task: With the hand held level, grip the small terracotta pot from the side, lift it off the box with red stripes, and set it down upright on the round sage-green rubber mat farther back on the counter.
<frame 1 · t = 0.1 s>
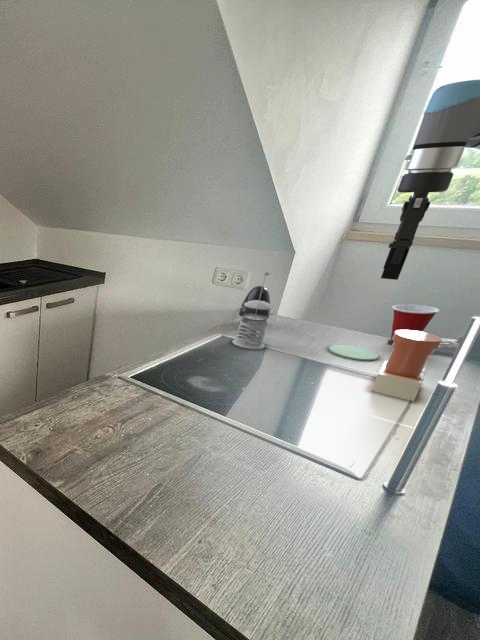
hand: (389, 273, 89), 31 cm above the counter, tool pointing down, fingers open, 13 cm apart
french press: (245, 343, 135), on the counter
terracotta pot: (402, 371, 101), point 5 cm above the counter, touching box with red stripes
plastic cup: (401, 341, 133), on the counter
box with red stripes: (394, 388, 103), on the counter
mat: (352, 352, 125), on the counter
black rounded piece: (251, 324, 152), on the counter
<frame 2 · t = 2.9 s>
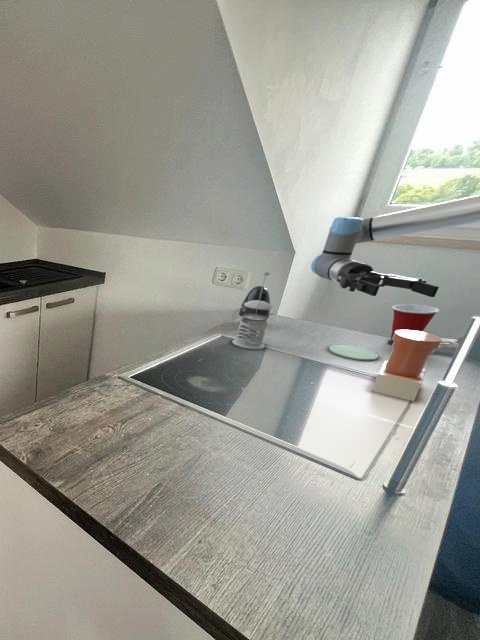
hand: (405, 291, 101), 24 cm above the counter, tool horizontal, fingers open, 13 cm apart
nothing on the counter moved.
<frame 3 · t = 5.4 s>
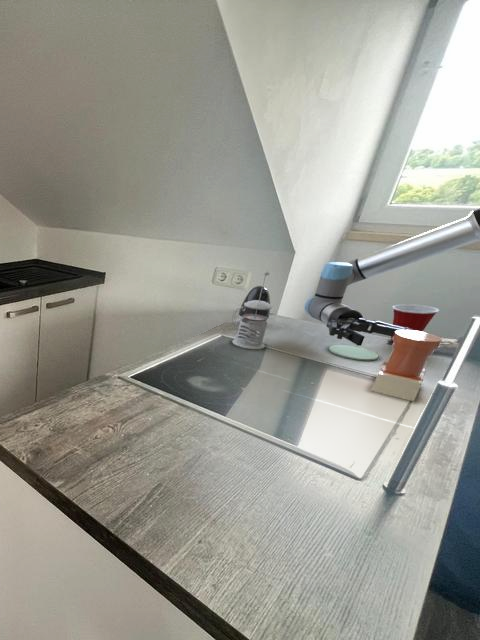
hand: (390, 342, 105), 10 cm above the counter, tool horizontal, fingers open, 13 cm apart
nothing on the counter moved.
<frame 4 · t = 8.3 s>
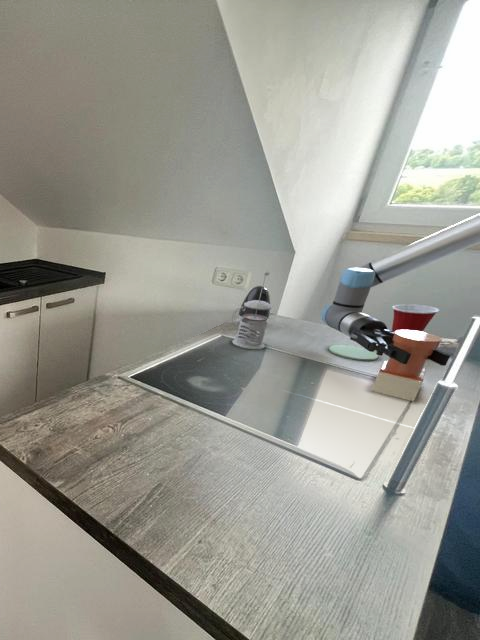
hand: (426, 359, 95), 10 cm above the counter, tool horizontal, fingers closed on terracotta pot, 7 cm apart
terracotta pot: (402, 371, 101), point 5 cm above the counter, touching box with red stripes, gripper
everything else where it was.
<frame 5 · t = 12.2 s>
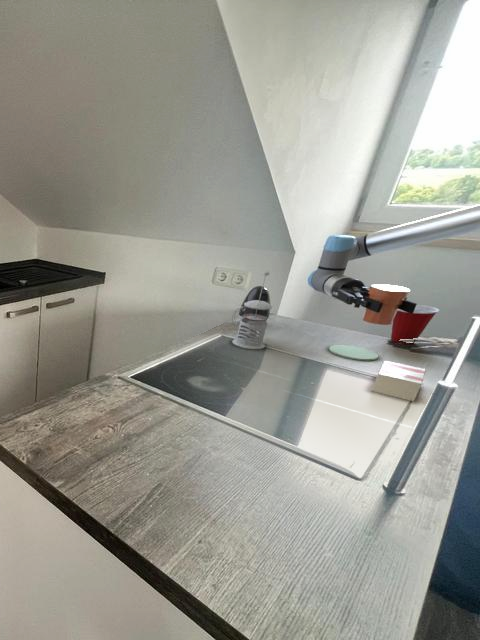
hand: (396, 308, 108), 18 cm above the counter, tool horizontal, fingers closed on terracotta pot, 7 cm apart
terracotta pot: (376, 321, 114), point 13 cm above the counter, touching gripper
everything else where it was.
when the fingers open (6 cm above the counter, at t = 16.6 s): terracotta pot stays where it is, resting on mat.
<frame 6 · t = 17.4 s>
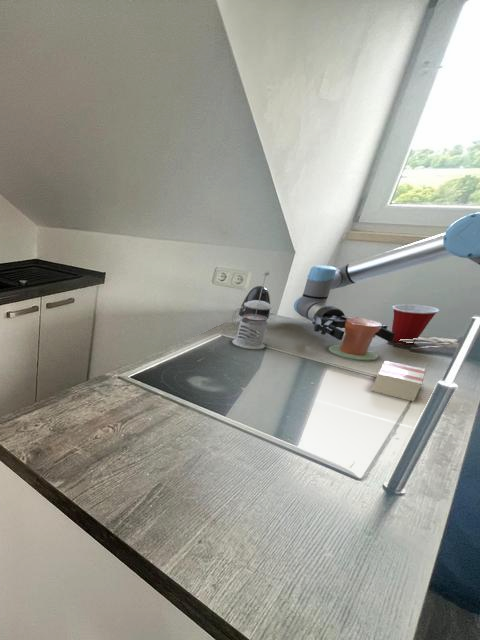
hand: (366, 336, 119), 7 cm above the counter, tool horizontal, fingers open, 13 cm apart
terracotta pot: (352, 351, 125), resting on mat
everything else where it was.
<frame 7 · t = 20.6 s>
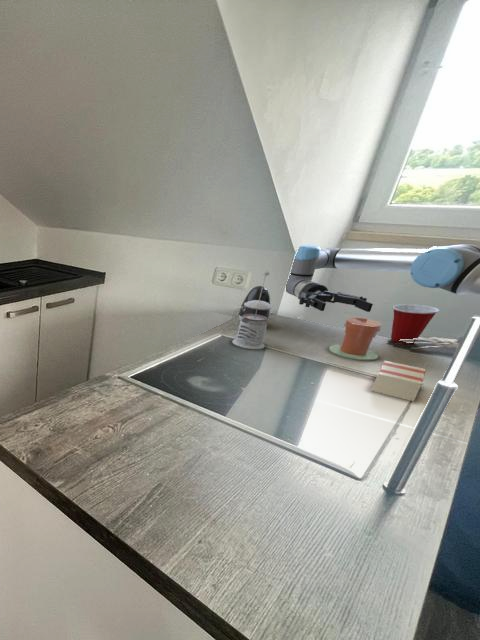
hand: (346, 307, 128), 12 cm above the counter, tool horizontal, fingers open, 13 cm apart
nothing on the counter moved.
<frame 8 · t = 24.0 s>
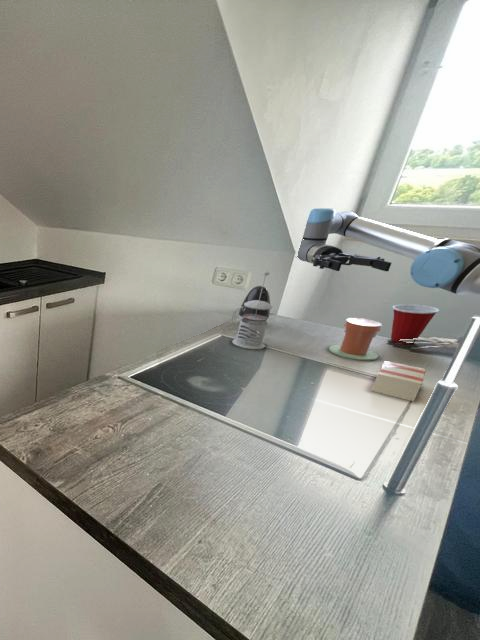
hand: (363, 266, 122), 26 cm above the counter, tool horizontal, fingers open, 13 cm apart
nothing on the counter moved.
at the end: terracotta pot inside the target area on the mat (0.0 cm from its centre), point 0.5 cm above the mat's base; terracotta pot tilted 0°; the gripper is holding nothing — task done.
